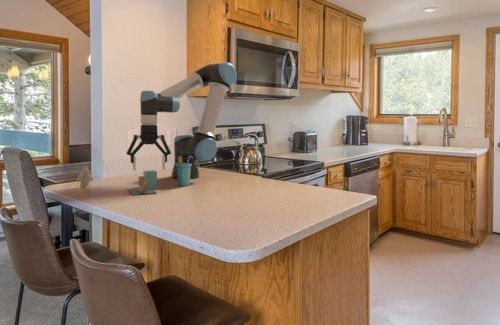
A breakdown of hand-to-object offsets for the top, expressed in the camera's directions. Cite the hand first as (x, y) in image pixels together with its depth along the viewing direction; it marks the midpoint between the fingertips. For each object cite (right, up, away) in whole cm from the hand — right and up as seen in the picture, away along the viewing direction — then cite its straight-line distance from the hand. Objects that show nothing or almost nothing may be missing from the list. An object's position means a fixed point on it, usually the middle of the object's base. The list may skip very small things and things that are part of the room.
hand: (149, 169), depth 184 cm
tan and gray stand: (0, -10, -12) cm, 16 cm away
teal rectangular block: (0, -8, +1) cm, 8 cm away
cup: (+16, -8, +6) cm, 19 cm away
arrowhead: (-29, -9, -2) cm, 31 cm away
